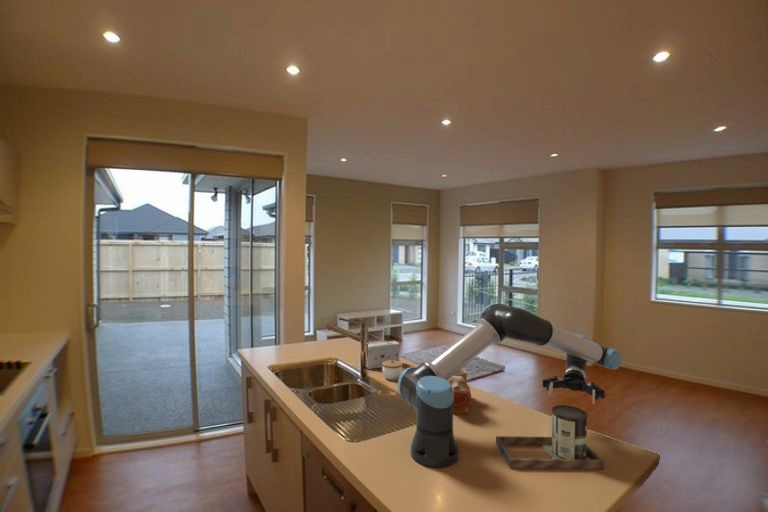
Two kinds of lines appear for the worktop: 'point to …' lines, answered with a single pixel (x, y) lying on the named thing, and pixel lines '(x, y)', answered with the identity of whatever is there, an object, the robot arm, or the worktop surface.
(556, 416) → the coffee can
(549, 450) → the pad
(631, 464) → the worktop surface
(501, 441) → the wooden serving tray
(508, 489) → the worktop surface
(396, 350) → the stereo radio cassette player
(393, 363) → the lidded jar
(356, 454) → the worktop surface
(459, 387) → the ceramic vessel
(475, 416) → the worktop surface
